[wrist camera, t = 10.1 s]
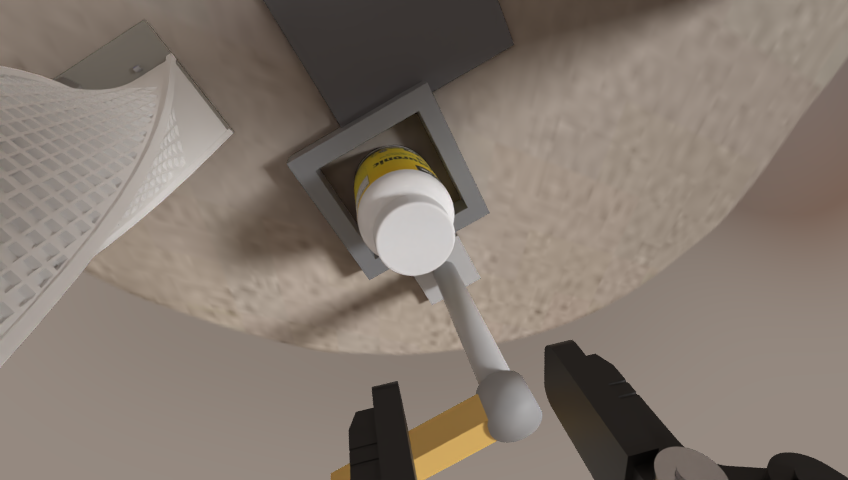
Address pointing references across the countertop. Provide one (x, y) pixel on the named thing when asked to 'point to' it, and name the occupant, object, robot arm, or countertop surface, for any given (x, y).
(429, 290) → the socket
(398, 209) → the supplement bottle
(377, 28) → the mat
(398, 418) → the robot arm
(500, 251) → the countertop surface
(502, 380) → the yellow lever
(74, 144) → the skyscraper
